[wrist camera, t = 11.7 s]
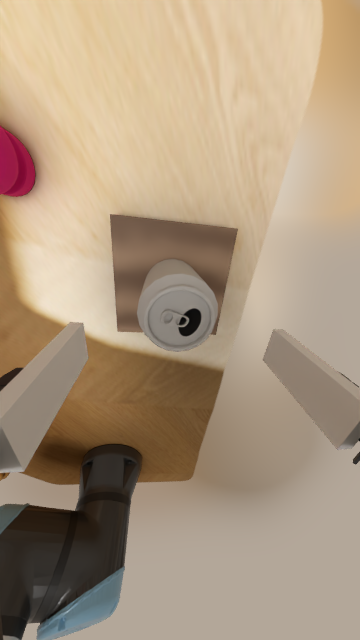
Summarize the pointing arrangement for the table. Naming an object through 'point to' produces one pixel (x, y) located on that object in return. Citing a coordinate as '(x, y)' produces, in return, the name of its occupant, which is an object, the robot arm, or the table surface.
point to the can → (176, 306)
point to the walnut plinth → (165, 258)
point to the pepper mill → (14, 166)
